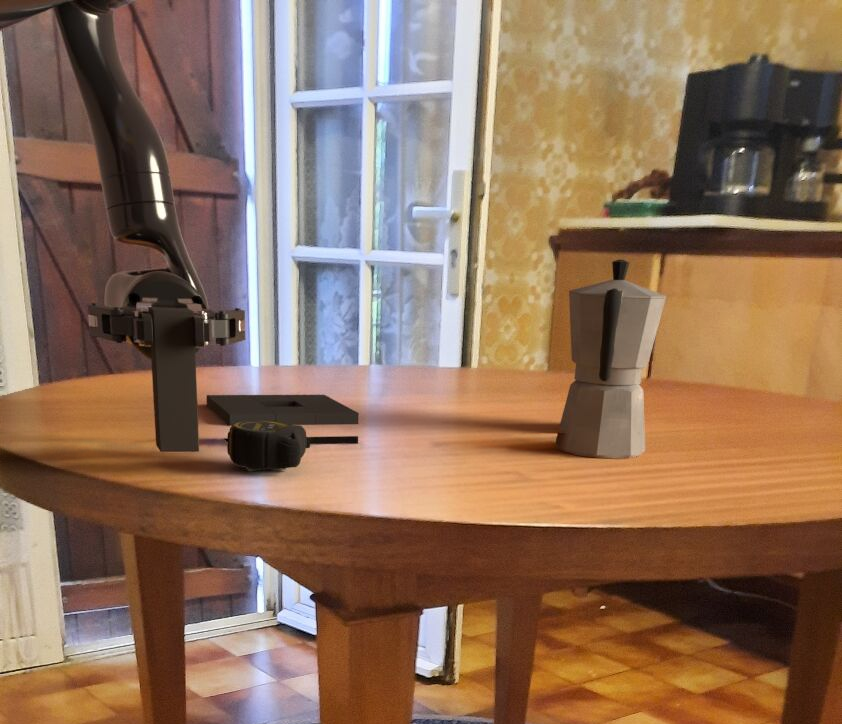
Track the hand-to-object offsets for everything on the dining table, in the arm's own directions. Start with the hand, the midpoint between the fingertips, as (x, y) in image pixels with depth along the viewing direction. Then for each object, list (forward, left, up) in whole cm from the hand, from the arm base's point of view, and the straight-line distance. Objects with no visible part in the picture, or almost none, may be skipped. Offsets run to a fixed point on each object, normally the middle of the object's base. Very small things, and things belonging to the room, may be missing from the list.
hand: (174, 331), depth 84 cm
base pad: (+13, +21, -12) cm, 28 cm away
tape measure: (+9, +3, -12) cm, 15 cm away
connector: (0, +3, -10) cm, 10 cm away
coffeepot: (+43, +7, -12) cm, 46 cm away
